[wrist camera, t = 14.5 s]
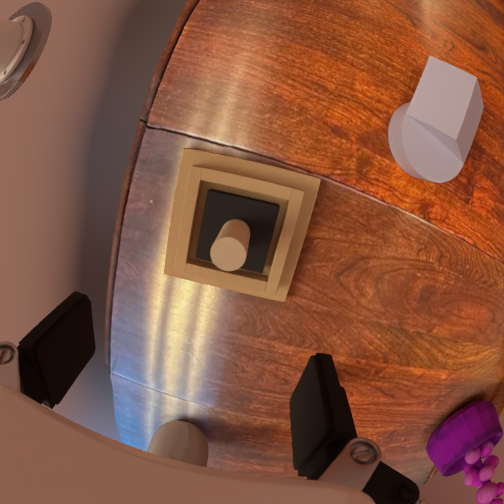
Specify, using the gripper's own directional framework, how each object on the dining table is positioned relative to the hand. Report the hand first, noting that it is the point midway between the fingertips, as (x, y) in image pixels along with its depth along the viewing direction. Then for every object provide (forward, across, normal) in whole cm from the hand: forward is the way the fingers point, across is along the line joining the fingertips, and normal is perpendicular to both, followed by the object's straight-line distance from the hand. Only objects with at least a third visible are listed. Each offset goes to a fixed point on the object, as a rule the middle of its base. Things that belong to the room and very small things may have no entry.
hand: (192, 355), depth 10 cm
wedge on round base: (+20, -18, -17) cm, 32 cm away
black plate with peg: (+19, 0, 0) cm, 19 cm away
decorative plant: (+20, -57, +31) cm, 68 cm away
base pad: (+20, 0, 0) cm, 20 cm away
